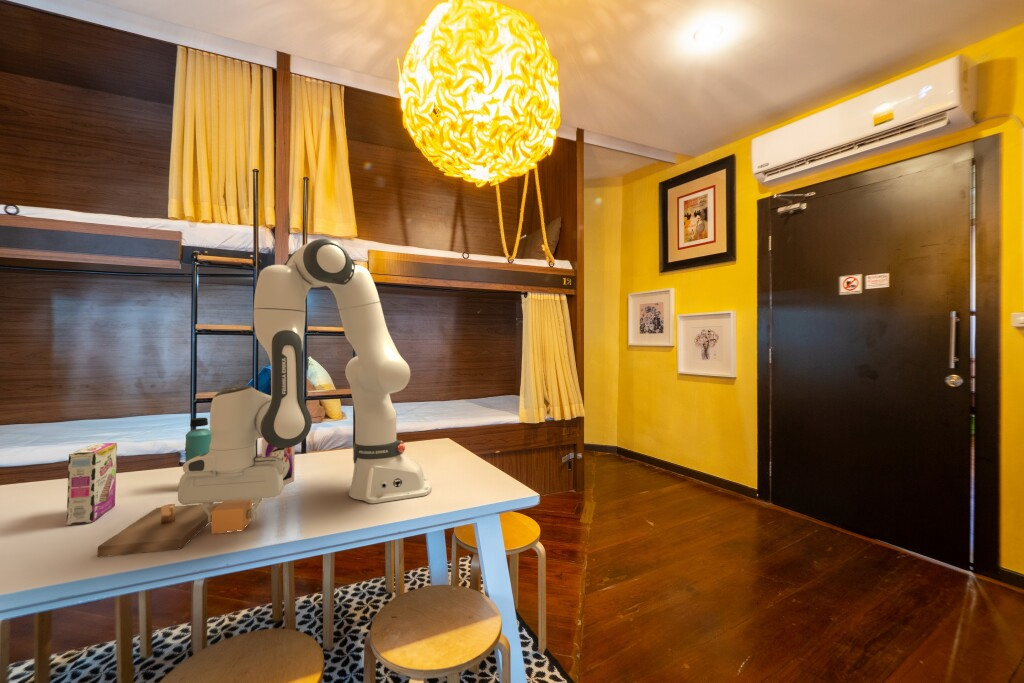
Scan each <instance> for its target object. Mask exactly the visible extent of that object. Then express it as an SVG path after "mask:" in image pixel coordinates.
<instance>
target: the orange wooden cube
mask: <svg viewBox="0 0 1024 683" xmlns="http://www.w3.org/2000/svg"><path fill="white" fill-rule="evenodd" d="M219 503H220V504H219V505H218V506H217V507H216V508H215V509H214V510H212V522H211V533H217V534H220V533H219V532H227V531H237V530H243V529H244V528H245V526H246V525H247V524H248V523H249V522H250V521H251V520H252V521H253V518H249V519H247V511H248V510H249V509H251V508H253V503H252V499H249V500H236V501H223V502H219ZM252 521H251V522H252ZM251 522H250V523H251ZM250 523H249V524H250ZM249 524H248V525H249ZM248 525H247V526H248ZM247 526H246V527H247ZM245 529H246V528H245ZM245 529H244V530H245ZM244 530H243V531H244Z"/></svg>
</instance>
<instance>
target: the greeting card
mask: <svg viewBox="0 0 1024 683" xmlns="http://www.w3.org/2000/svg"><path fill="white" fill-rule="evenodd" d="M295 446H296V445H295ZM295 446H293V447H290V448H276V447H273V446H271V445H270V444H268V443H267V442H266V441H265V439H264V438H262V439H261V457H270V456H277V458H280V459H282V461H283V463H284V470H283V472H282V477H283V486H286V485H288V484H290V483H293V482H295V455H296V454H295V452H296V450H295ZM277 460H278V459H277ZM285 484H286V485H285Z"/></svg>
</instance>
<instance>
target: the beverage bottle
mask: <svg viewBox="0 0 1024 683" xmlns="http://www.w3.org/2000/svg"><path fill="white" fill-rule="evenodd" d="M189 426H190V427H192V428H193V427H197V428H196V429H191V430H189V431H188V432H187V433H186V434H185V444H184V445H185V447H184V450H185V451H184V452H185V454H184V456H185V458H184V460H185V461H184V463H186V462H187V461H189V460H190V459H192V458H194V457H197V456H199V455H202V454H205V453H208V452H209V447H210V443H211V440H212V435H211V431H210V429H209V428H198V427H205V426H209V422H208V418H207V417H196V418H194V417H193V418H191V419H190V424H189ZM185 473H186V472H184V474H185Z"/></svg>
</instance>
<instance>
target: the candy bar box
mask: <svg viewBox="0 0 1024 683" xmlns="http://www.w3.org/2000/svg"><path fill="white" fill-rule="evenodd" d="M117 453H118V443H117V442H107V443H93V444H91V445H89V446H86V447H84V448H80V449H77V450H75V451H74V452H70V453H69V454H68V467H67V468H68V469H67V470H68V471H67V472H68V474H67V495H66V496H67V501H66V502H67V503H66V504H67V506H66V526H74V525H84V524H91V523H94V522H95V521H97V520H98V519H100V517H102V516H103V515H104V514H106V513H107V512H109V511H110V510H112V509H113V508H114V507H116V486H117V485H116V483H117V477H116V476H117V457H118V456H117V455H118V454H117Z"/></svg>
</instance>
